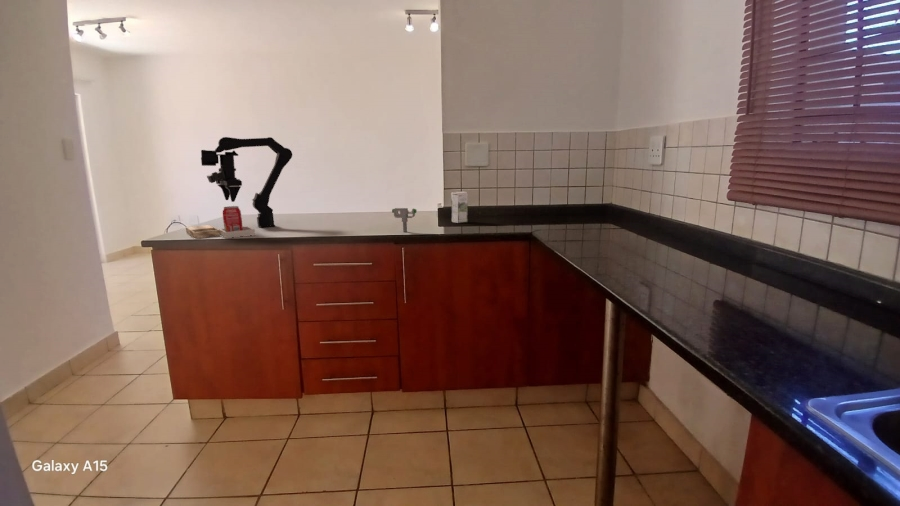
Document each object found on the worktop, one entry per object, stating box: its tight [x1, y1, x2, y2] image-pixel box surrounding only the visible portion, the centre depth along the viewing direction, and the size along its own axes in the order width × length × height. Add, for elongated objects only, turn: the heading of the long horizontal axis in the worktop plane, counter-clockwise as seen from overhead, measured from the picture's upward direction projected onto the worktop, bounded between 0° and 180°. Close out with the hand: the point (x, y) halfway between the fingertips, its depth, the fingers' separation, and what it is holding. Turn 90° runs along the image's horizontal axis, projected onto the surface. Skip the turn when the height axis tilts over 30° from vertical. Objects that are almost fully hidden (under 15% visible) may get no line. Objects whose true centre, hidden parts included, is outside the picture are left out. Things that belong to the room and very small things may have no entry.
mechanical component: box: [391, 207, 418, 233], centre depth 197 cm, size 3×10×10 cm, turn 78°
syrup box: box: [450, 190, 469, 224], centre depth 222 cm, size 6×6×14 cm
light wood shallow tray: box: [185, 224, 220, 239], centre depth 202 cm, size 10×20×2 cm, turn 37°
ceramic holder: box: [218, 226, 256, 239], centre depth 198 cm, size 12×12×2 cm
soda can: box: [222, 205, 244, 232], centre depth 197 cm, size 7×7×12 cm
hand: (229, 200), depth 212 cm, fingers open, 9 cm apart
